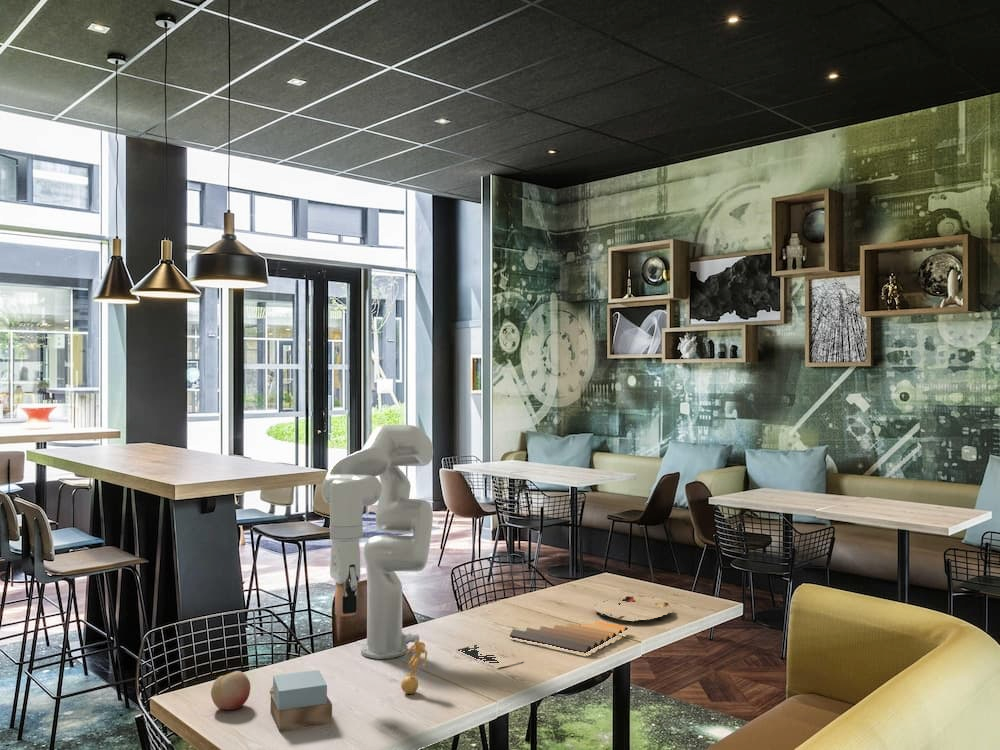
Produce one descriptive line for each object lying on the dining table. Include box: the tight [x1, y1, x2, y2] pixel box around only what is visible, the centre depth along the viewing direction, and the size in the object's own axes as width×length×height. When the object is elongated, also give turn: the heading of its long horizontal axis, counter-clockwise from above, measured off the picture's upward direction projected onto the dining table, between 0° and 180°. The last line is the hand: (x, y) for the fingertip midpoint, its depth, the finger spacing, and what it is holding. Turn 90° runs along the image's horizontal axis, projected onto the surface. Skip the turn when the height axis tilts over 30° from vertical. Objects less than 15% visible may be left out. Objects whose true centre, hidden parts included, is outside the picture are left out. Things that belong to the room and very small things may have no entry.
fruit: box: [210, 670, 251, 711], centre depth 178 cm, size 8×8×8 cm
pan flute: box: [509, 620, 629, 653], centre depth 229 cm, size 25×3×25 cm
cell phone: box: [457, 644, 499, 663], centre depth 213 cm, size 9×18×1 cm, turn 39°
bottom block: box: [270, 694, 333, 733], centre depth 172 cm, size 11×11×4 cm
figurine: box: [400, 640, 428, 695], centre depth 187 cm, size 8×6×12 cm
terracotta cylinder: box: [334, 580, 358, 617], centre depth 186 cm, size 5×5×7 cm
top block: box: [272, 669, 328, 711], centre depth 173 cm, size 10×10×4 cm
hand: (346, 608), depth 186 cm, fingers closed on terracotta cylinder, 5 cm apart
